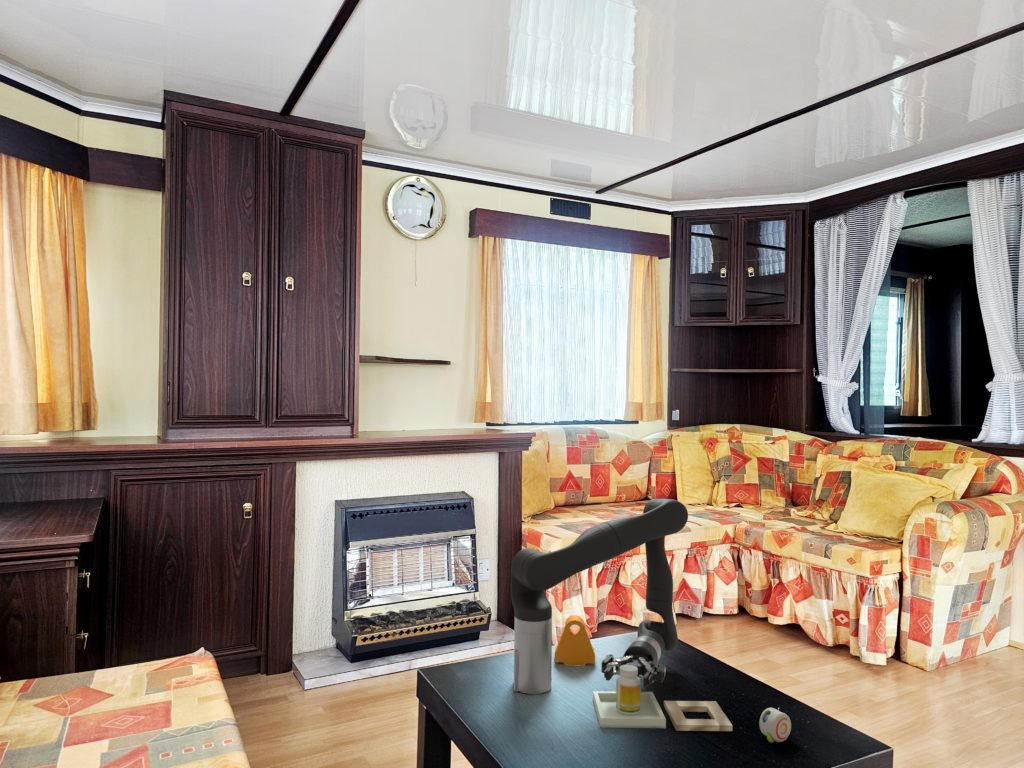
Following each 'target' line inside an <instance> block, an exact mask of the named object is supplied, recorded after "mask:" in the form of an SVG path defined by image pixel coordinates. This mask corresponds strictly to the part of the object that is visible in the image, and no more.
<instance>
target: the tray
mask: <svg viewBox="0 0 1024 768" xmlns="http://www.w3.org/2000/svg"><path fill="white" fill-rule="evenodd" d="M592 701H593V704H594V705H593V706H594V708H595V712H596V716H597V721H598V722H599V726H600V728H601V729H602V728H603V729H604V728H605V729H606V728H607V729H667V718H666V716H665V715H664V714H665V713H663V710H662V708H661V706H660V704H659V702H658V700H657V698H656V696H655V694H654V692H653V691H640V712H639V713H638V714H636V715H625V714H621V713H619V712H618V711H617V709H616V691H614V690H613V691H609V690H608V691H607V690H605V691H602V690H597V691H595V690H593V691H592Z"/></svg>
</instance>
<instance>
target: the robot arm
mask: <svg viewBox="0 0 1024 768" xmlns="http://www.w3.org/2000/svg"><path fill="white" fill-rule="evenodd" d="M688 512H689V511H688V509H687V507H686V506H685V505H684V504H683V502H681V501H678V500H676V499H672V498H652V499H649V500H648V501H647V502H646V503H645V505H644V507H643V511H642V514H637V515H633V516H627V517H626V516H625V517H621V518H615V519H610V520H606V521H604V522H601V523H599V524H596V525H593V526H590V527H589V528H587V529H586V530H584V531H583V532H581V534H579V536H578V537H577V538H576V539H575V540H574V541H573V542H572V543H571V544H569V545H567V546H565V547H562V548H559V549H557V550H553V551H549V552H542V551H540V550H538V549H534V548H531V547H530V548H529V547H527V548H523V549H520V550H519V551H518V552H517V553H516V554H515V556H514V557H513V558H512V562H511V566H510V590H511V591H510V595H511V597H510V599H511V602H512V606H513V608H514V609H513V610H514V628H513V629H514V633H513V634H514V635H513V636H514V639H513V641H514V642H513V692H518V691H520V692H519V693H523V694H526V693H527V694H528V695H539V694H544V693H547V692H549V691H550V690H551V689H552V679H553V678H552V665H553V664H552V663H553V662H552V659H553V658H552V654H553V651H552V648H553V642H552V641H553V639H552V638H553V632H552V631H553V630H552V629H553V606H552V604H551V602H550V601H549V599H548V597H547V594H546V592H545V591H548V590H549V589H552V588H553V587H556V586H557V585H558V584H560V583H562V582H564V581H566V580H567V579H569V578H571V577H573V576H574V575H576V574H579V573H581V572H583V571H586V570H588V569H591V568H593V567H595V566H598V565H600V564H602V563H605V562H607V561H609V560H612V559H615V558H616V557H617V558H618V557H619V556H620V555H624V554H625V553H627V552H629V551H631V550H634V549H636V548H638V547H641V546H642V545H645V559H646V589H645V590H646V591H645V608H646V610H648V611H650V612H652V613H655V614H657V615H659V616H660V618H662V620H663V621H656V620H650V619H646V620H645V619H644V620H642V621H641V622H639V624H638V627H637V631H636V632H637V634H636V635H637V638H635V639H634V640H633V641H632V642H631V644H630V645H629V646H628V647H627V648H626V650H625V652H624V653H623V656H621V657H619V658H615V657H614V654H608V655H606V656H605V658H603V659H602V661H601V673H602V674H603V678H605V680H606V681H608V682H610V681H611V679H612V678H613V676H616V675H617V676H619V675H620V666H622V665H633V666H636V667H637V668H638V674H637V676H638V677H639V678H640V679H641V678H642V679H643V680H642V681H643V682H642V683H643V684H642V685H643V688H648V686H651V685H652V684H653V683H655V681H656V682H657V683H659V684H662V683H663V682H664V679H665V677H666V673H667V672H666V668H667V667H666V665H667V664H666V663H665V662H660V658H661V656H662V654H663V653H664V652H672V651H674V650H675V649H676V648H677V646H678V643H679V642H678V641H679V636H678V630H677V627H676V623H675V617H674V610H673V601H674V600H673V597H674V596H673V595H674V578H673V574H672V573H673V572H672V570H671V567H670V563H669V560H668V556H667V553H666V543H665V542H666V537H667V536H671V535H675V534H677V533H678V532H680V531H682V530H683V529H684V527H685V526H686V525H687V523H688V520H689V513H688ZM659 662H660V663H659ZM614 668H615V669H614ZM527 694H526V695H527Z"/></svg>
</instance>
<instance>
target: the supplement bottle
mask: <svg viewBox="0 0 1024 768" xmlns="http://www.w3.org/2000/svg"><path fill="white" fill-rule="evenodd" d="M637 674H638V668H637V667H636V666H633V665H622V666H620V675H617V677H616V689H615V690H616V709H617V711H618V712H619V713H621V714H625V715H636V714H638V713H639V712H640V692H641V688H642V687H641V686H642V685H641V684H642V683H641V678H640V677H638V676H637Z"/></svg>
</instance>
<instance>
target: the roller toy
mask: <svg viewBox="0 0 1024 768" xmlns="http://www.w3.org/2000/svg"><path fill="white" fill-rule="evenodd" d="M758 723H759V726H758V727H759V729H760V731H761V733H762V734H763V735H764V736H765V737H766V740H767V741H768V742H769V743H774V742H777V743H782V742H784V741H787V738H788V737H789V735H790V733H791V731H792V722H791V719H790V716H789V715H787V714H786V713H785V712H781V711H780V710H778V709H776V708H774V707H767V708H766V709H764V710H763V711H762V713H761V715H760V718H759V722H758Z"/></svg>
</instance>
